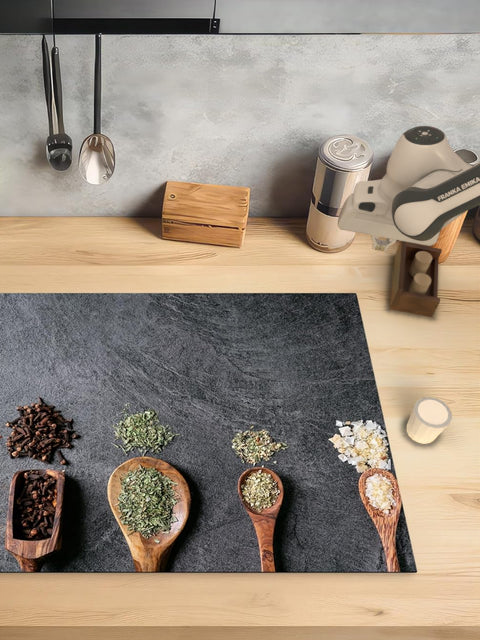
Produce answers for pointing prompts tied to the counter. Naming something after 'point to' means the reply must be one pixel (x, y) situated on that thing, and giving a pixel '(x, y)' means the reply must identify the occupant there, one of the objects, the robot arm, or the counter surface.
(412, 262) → the spice rack
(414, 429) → the shot glass
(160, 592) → the counter surface
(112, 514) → the counter surface
